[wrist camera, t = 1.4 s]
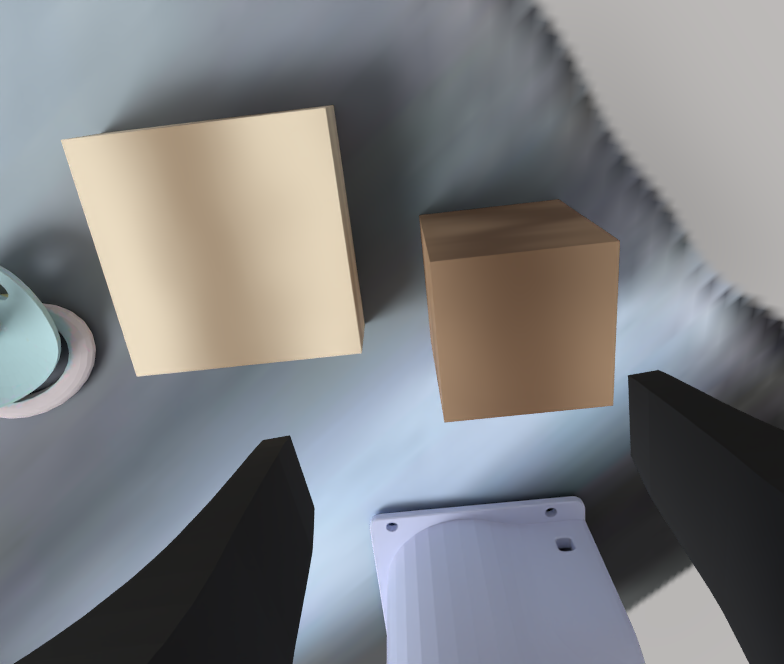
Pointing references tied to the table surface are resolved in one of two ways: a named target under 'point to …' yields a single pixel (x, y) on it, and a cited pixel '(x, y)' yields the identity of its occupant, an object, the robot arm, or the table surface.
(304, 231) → the maple block
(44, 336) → the pacifier
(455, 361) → the walnut cube
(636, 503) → the table surface
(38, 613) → the table surface
